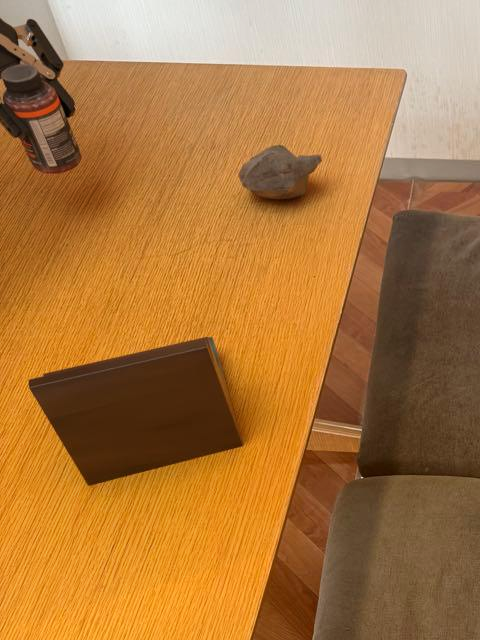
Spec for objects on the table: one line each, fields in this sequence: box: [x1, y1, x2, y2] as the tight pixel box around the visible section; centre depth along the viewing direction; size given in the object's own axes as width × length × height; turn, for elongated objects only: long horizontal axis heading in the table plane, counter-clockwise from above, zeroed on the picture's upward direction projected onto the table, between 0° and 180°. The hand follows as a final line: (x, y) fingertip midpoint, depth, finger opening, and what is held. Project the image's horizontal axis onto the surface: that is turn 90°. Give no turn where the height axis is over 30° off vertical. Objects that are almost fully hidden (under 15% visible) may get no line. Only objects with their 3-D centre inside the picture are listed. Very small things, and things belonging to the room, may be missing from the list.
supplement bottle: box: [1, 63, 82, 175], centre depth 107 cm, size 6×6×11 cm
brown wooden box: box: [27, 336, 244, 486], centre depth 93 cm, size 15×16×14 cm
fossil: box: [238, 144, 323, 200], centre depth 120 cm, size 11×9×8 cm
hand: (49, 124), depth 107 cm, fingers closed on supplement bottle, 6 cm apart
